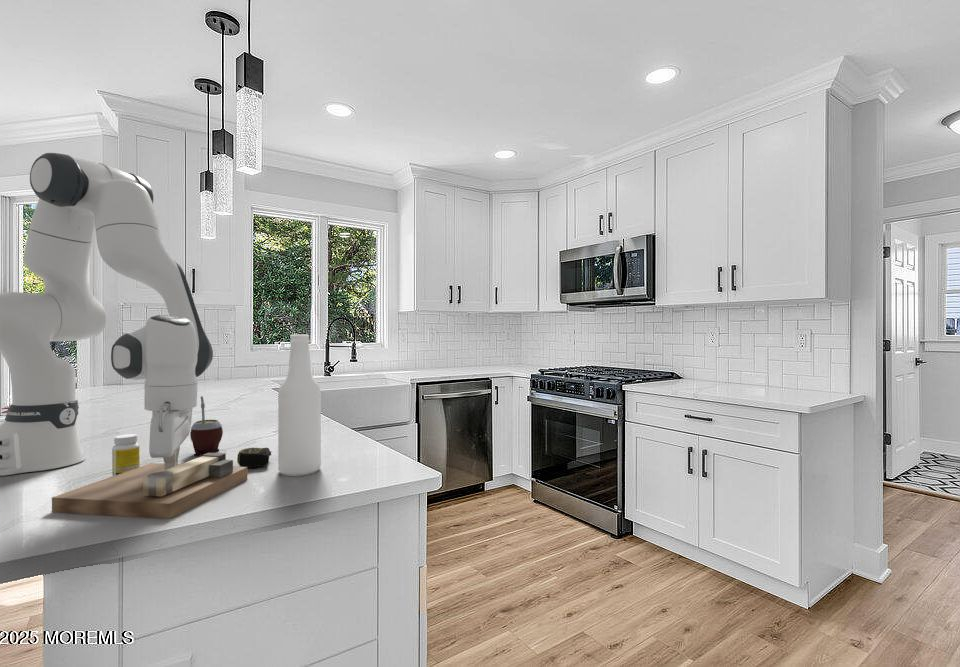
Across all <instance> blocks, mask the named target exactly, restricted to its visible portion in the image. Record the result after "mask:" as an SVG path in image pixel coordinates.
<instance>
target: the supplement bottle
mask: <svg viewBox="0 0 960 667" xmlns="http://www.w3.org/2000/svg"><path fill="white" fill-rule="evenodd" d="M113 441H114V442H113V443H114V445H113V447H112V448H111V450H112V451H111V454H112V456H111V457H112V458H111V461H112V466H111V468H112V476H115V475H118V474H121V473H124V472H127V471H130V470H133V469H135V468H138V467H141V466H140V463H141V462H140V444H139V443H138V435H137V434H136V433H127V434H120V435H117V436H114V440H113Z"/></svg>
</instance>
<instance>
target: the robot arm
mask: <svg viewBox="0 0 960 667" xmlns="http://www.w3.org/2000/svg"><path fill="white" fill-rule="evenodd" d="M29 184H30V187H31V189H32V191H33V192H34V194H35V195H36V197H37V198H39V199H38V200H37V203H36V206H35V208H34V211H33V214H32V217H31V221H30V225H29V229H28V234H27V238H26V243H25V248H24V252H23V257H22V258H23V263H24V265H25V266H26V268H27V269H28V270H29V271H30V272H31V273H33V274H34V275H36V276H37V277H39V278H41V279H42V281H43V286H44V290H43V293H37V292H34V293H33V292H20V291H18V292H17V291H6V292H0V354H1V355H2V357H3V358H4V360H5V362H6V364H7V366H8V369H9V373H10V383H11V402H12V403H11V404H10V405H9V406H7V407H3V408H1V410H3V411H1V414H6V415H5V418H4V422H3V423H2V424H0V476H10V475H16V474H23V473H29V472H30V473H32V472H40V471H47V470H48V471H49V470H53V469H58V468H63V467H67V466H71V465H75V464H78V463H81V462H83V461H84V460H85V459H86V456H85V454H86V452H85V449H83V445H82V444H83V443H82V439H81V430H80V425H79V422H78V420H77V418H78V415H79V409H80V407H79V401H78V400H77V398H76V397H77V396H76V394H77V393H76V392H77V391H76V389H77V388H76V386H77V385H76V374H77V372H76V369H75V367H74V366H73V365H72V363H70V362H68V361H67V360H64V359H62V358H60V357H58V356H57V355H56V354H55V353H54V351H53V350H52V345H51V342H77V341H81V340H87V339H90V338H95V337H97V336H99V335H101V333H102V332H103V331H104V330H105V328H106V326H107V323H108V314H107V312H106V309H105V307H104V306H103V304H102V303H101V302H100V301H99V300H98V299H97V298H96V297H95V296H94V295H93V293H92V291H91V289H90V285H89V281H88V268H89V261H90V255H91V250H92V245H93V240H94V235H95V237H96V243H97V248H98V249H97V250H98V252H99V254H100V257H101V259H102V261H104V263H105V264H106V265H107V266H108V267H109V268H110V269H112V270H113V271H115V272H116V273H118V274H120V275H121V276H124V277H127V278H129V279H132V280H135V281H137V282H138V283H139V282H140V283H142V284H144V285H146V286H148V287H149V288H151V289H152V290H154V291H156V293H158V294H159V295H160V296H161V297H162V299H163V301H164V303H165V306H166V309H167V312H168V315H167V314H160V315H159V314H158V315H153V316H151V317H149V318H148V319H147V321H146V322H145V325H144V326H143V327H141V328H139V329H137V330H135V331H132V332H129V333H124V334H123V335H121V336H120V337H118V338H117V339H116V340H115V341H114V343H113V344H112V347H111V352H110V354H111V355H110V360H111V361H110V362H111V367H112V369H113V370H114V371H115V372H116V374H118V375H119V376H120V377H122V378H123V379H126V380H131V381H132V380H134V381H137V380H138V381H139V380H144V381H145V382H144V388H143V389H144V391H143V392H144V393H143V397H144V400H143V401H144V404H143V405H144V411H145V410H146V411H149V412H151V413H152V414H151V415H152V416H151V419H150V420H151V421H150V424H149V425H150V427H149V447H148V449H149V450H148V451H149V456H150V458H152V459H160V458H162V459H163V464H165V470H166V469H169V468H172V467H174V466H177V465H178V464H179V455H180V450H181V445H182V444H183V443H184V441H185V440H186V439H187V438H188V436H190V432H191V427H192V417H193V408H196V407H197V406H198V379H197V378H198V377H200V376H201V375H202V374H204V373H205V371H207V369H208V368H209V367H210V365H211V363H212V361H213V359H214V350H213V347H212V344H211V342H210V340H209V338H208V336H207V334H206V333H205V332H206V331H205V330H204V328H203V325H202V323H201V319H200V316H199V314H198V310H197V308H196V304H195V301H194V298H193V295H192V292H191V291H192V290H191V289H190V285H189V283H188V279H187V277H186V274H185V272H184V270H183V268H182V267H181V265H180V264H179V263H178V262H177V261H176V260H174V259H173V258H172V255H170V253H169V252H168V250H167V249H166V247H165V244H164V242H163V240H162V237H161V231H160V226H159V221H158V216H157V213H156V210H155V207H154V193H153V189H152V187H151V185H150V184H149V182H148V181H146V180H145V179H144V178H141V177H140V176H138V175H136V174H134V173H132V172H129V173H128V172H126V171H123V170H121V169H119V168H116V167H114V166H110V165H108V164H105V163H101V162H95V161H90V160H86V159H82V158H78V157H73V156H71V155H69V154H64V153H56V152H46V153H44V154H41V155H40V156H38V157H37V158H36V159H35V160H34V161H33V163H32V165H31V168H30V172H29Z"/></svg>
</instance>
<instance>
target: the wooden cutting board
mask: <svg viewBox="0 0 960 667" xmlns="http://www.w3.org/2000/svg"><path fill="white" fill-rule="evenodd" d="M178 465H180V463H178ZM163 470H165V463H161V462H160V463H157V462H149V463H147V464H144V465H142V466H140V467H138V468H135V469H133V470H130V471H127V472H124V473H121V474H118V475H115V476H113V475H111V476H110V477H107V478H105V479H102V480H98V481H96V482H93V483H90V484H88V485H84V486H81V487H78V488H75V489H72V490H70V491H67V492H63V493H61V494H58V495H55V496H52V497H51V512H52V513H59V514H60V513H63V514H64V513H65V514H78V515H81V514H82V515H96V516H97V515H99V516H115V517H132V518H148V519H149V518H150V519H151V518H152V519H166V520H167V519H169V520H170V519H172V518H174V517H176V516H178V515H180V514H181V513H184V512H186V511H188V510H190V509H192V508H193V507H194V508H195V506H197V505H199V504H202V503H203V502H206V501H208V500H209V499H211V498H213V497H215V496H217V495H219V494H221V493H223V492H225V491H226V490H228V489H231V488H233V487H235V486H236V485H239V484H240V483H243V482H244V481H246V480H248V468H247V467H241V466H234V459H226V460H220V461H218V462H216V463H213V464H211V465H210V476H208V477H206V478H203V479H201V480H199V481H196V482H194V483H192V484H189V485H187V486H185V487H182V488H180V489H178V490H176V491H173V492H172V493H169V494H166V495H164V496H162V497H161V496H145V495H143V478H144V477H147V475H149V474H151V473H155V472H161V471H163Z"/></svg>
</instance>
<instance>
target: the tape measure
mask: <svg viewBox="0 0 960 667" xmlns="http://www.w3.org/2000/svg"><path fill="white" fill-rule="evenodd" d="M270 456H272V451H271V450H270V448H269V447H248V448H243V449H241V450H239V451H238V453H237V464H238V466H239V467H247V469H248V468H256V467H262V466H266V465H268V463H269V460H270Z"/></svg>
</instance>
